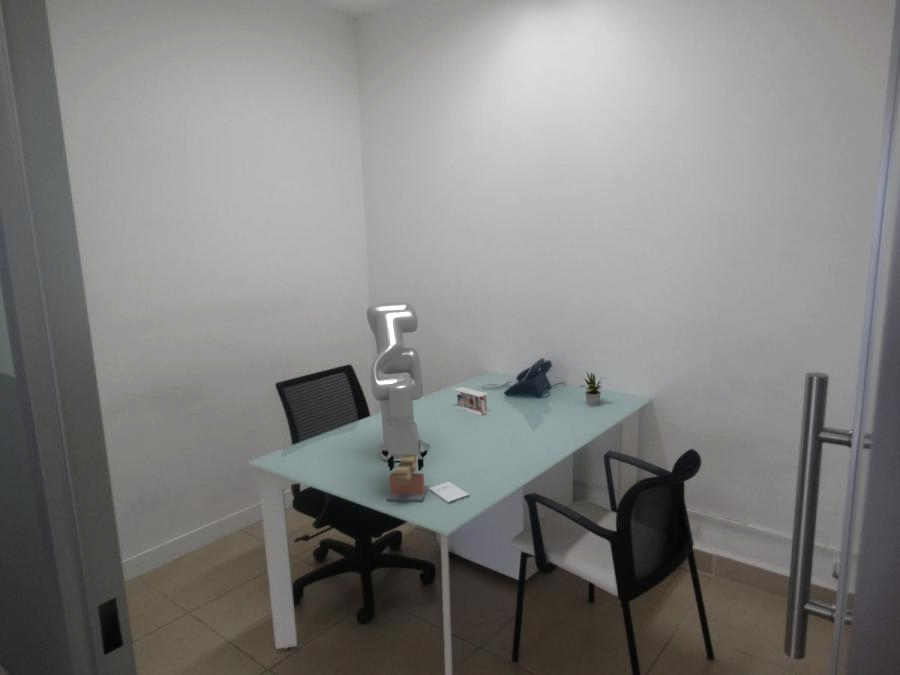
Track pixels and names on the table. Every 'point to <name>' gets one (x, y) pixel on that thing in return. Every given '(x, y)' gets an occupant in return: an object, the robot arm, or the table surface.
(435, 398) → the table surface
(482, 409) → the cigarette display
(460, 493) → the external hard drive
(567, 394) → the table surface
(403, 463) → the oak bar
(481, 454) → the table surface
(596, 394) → the house plant
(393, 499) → the fulcrum board
